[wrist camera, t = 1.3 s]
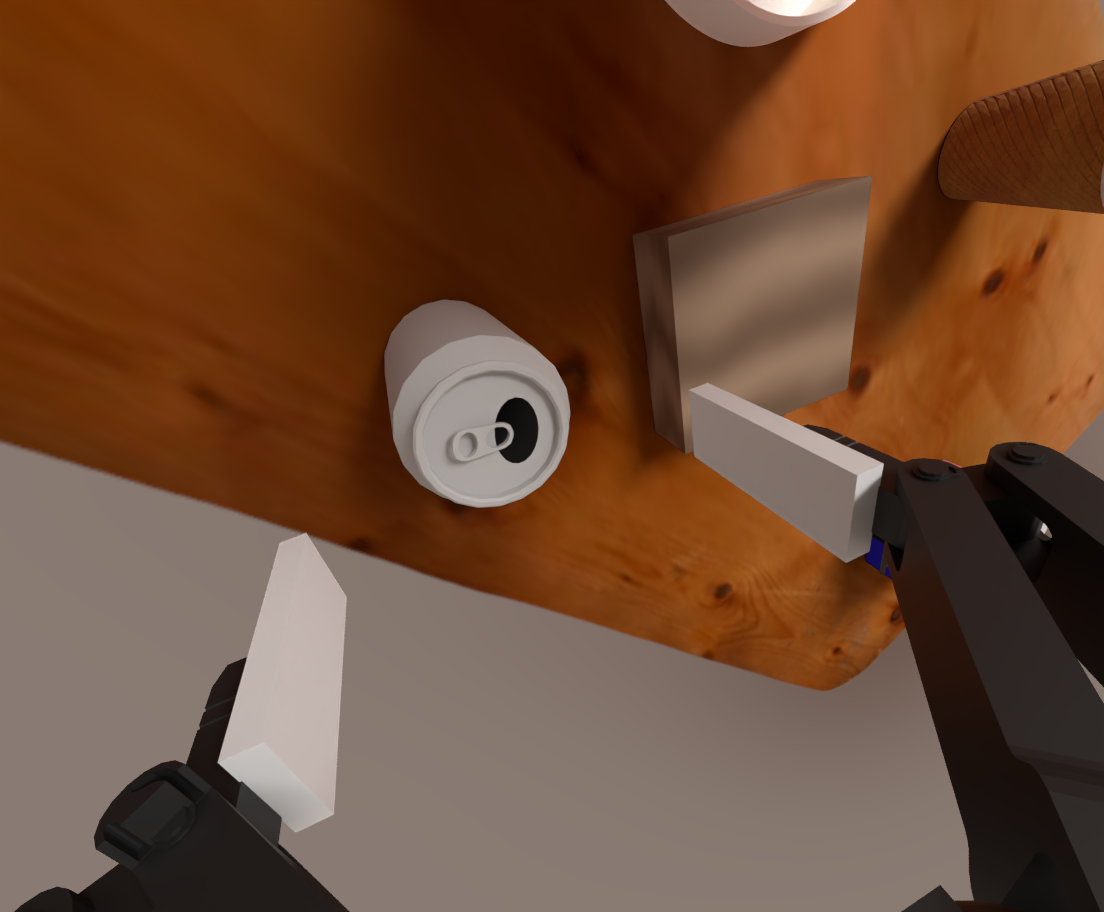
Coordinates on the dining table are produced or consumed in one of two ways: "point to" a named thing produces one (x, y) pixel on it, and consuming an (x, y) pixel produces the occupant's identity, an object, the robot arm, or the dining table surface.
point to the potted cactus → (755, 18)
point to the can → (473, 405)
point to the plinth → (753, 300)
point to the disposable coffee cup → (1032, 145)
